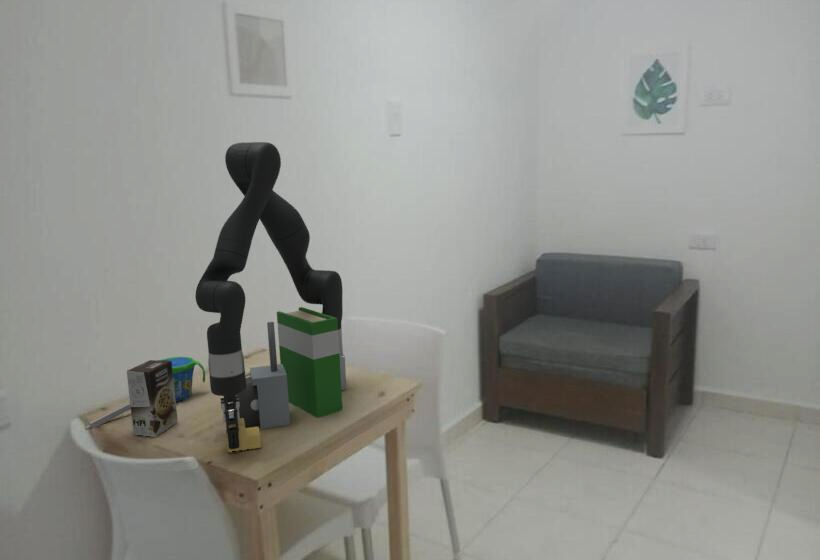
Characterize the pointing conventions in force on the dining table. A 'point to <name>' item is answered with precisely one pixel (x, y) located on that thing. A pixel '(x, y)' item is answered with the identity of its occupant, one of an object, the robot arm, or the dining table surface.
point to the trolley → (266, 392)
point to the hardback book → (311, 360)
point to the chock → (246, 437)
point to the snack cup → (183, 376)
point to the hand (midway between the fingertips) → (233, 442)
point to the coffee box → (152, 397)
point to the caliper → (109, 416)
